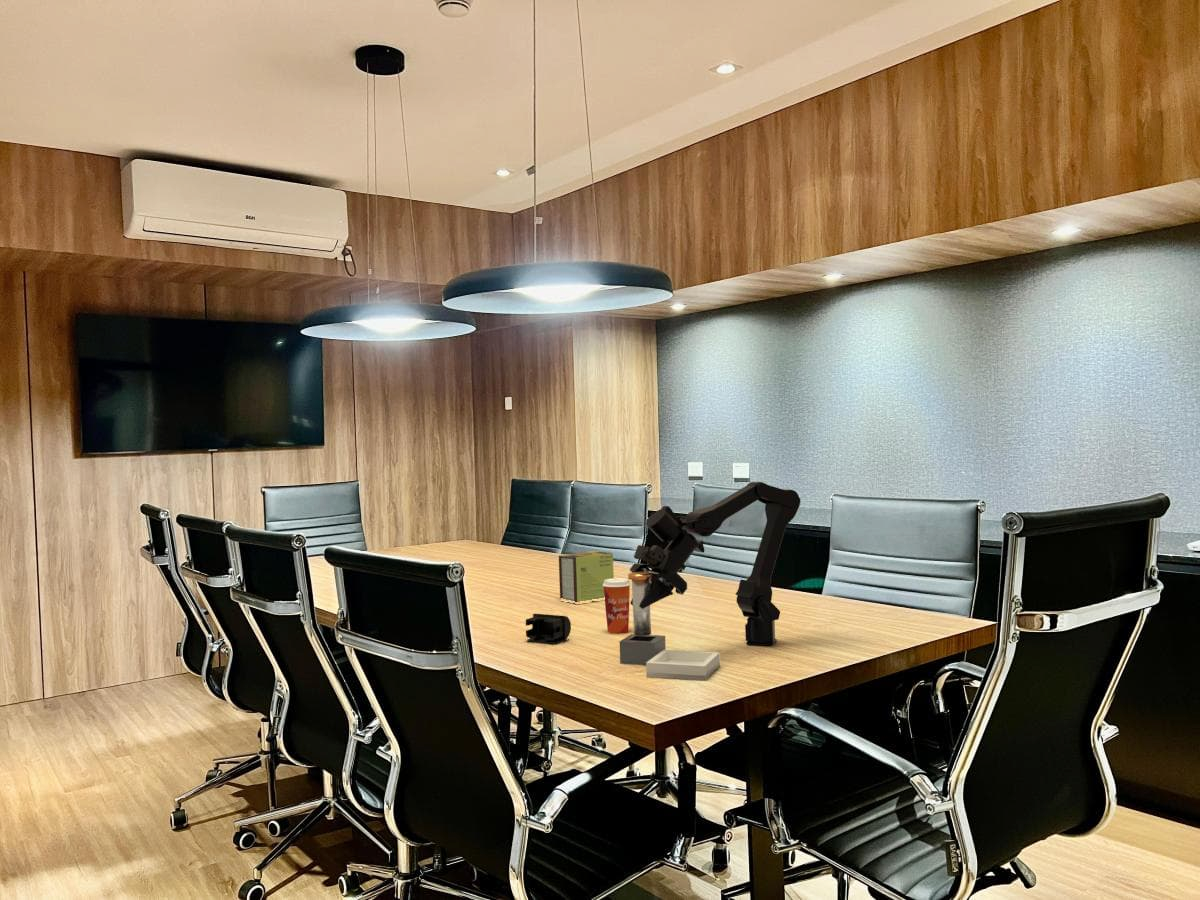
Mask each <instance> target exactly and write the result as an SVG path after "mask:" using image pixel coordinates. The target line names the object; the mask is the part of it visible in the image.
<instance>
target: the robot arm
mask: <svg viewBox="0 0 1200 900" xmlns="http://www.w3.org/2000/svg"><path fill="white" fill-rule="evenodd" d="M757 501H758V502H759V503H762V504H764V505H765V506H764V512H765V516H766V523H765V527H764V530H763V534H762V537H761V540H760V543H759V546H758V549H757V553H756V556H755V560H754V564H753V567H752V571H751V573H750V576H748V578H747V579H740V581H739V584H738V588H737V590H736V593H735V595H736V604H737V605H738V607H739V609H740V611H741V613H742V615H743V617H745V618H746V619H747V620H746V623H745V626H744V627H745V628H744V629H745V631H744V632H745V641H746V645H749V646H750V645H751V646H770V647H772V646H774V644H775V643H776V642H777V640H778V639H777V638H776V629H775V628H776V627H775V626H776V625H775V621H778V620H779V618H780V614H781V611H780V609H778V607H777V606H776V605H775V604H774V603H773V602H772V600H773V599H772V598H773V588H772V583H771V579H772V575H773V572H774V569H775V566H776V561H777V558H778V555H779V553H780V552H779V551H780V548H781V545H782V541H783V539H784V536H785V535H784V534H785V532H786V528H787V526H788V525H789V523H790V522H791V521H792V520H793V519H794V518H795V517H796V514H797V512H798V510H799V508H800V506H801V497H800V496H799V494H798V492H797V491H796V490H794V489H783V488H779V487H776V486H772V485H770V484H767V483H765V482H764V481H751V482H749V483H747V484H746V485H745V486H744V487H742V488H740V489H739V490H737V491H735V492H733V493H731V494H730V495H728V496H726V497H724V498H723V499H721V500H720V501H718V502H716V503H715V504H712V505H710V506H705V507H701V508H699V509H695V510H693V511H690V512H688V513H687V514H686V515H685V516H684V517H681V518H680V517H678V515H677V514H676V513H674V511H673V509H672V508H671V507H670V506H669V505H663V506H662V507H661V508H660V509H657V510H656V511H655V512H654V513H653V514H650V516H649V517H648V519H647V520H646V527H647V528H649V530H650V531H651V532H653V534H654V535H655V536H656V537H657V538H658V539H659V540H660V541H661V542H662V543H663V542H665V543H666V542H669V543H668V545H667V546H666V547H665V549H663V547H662V546H659V545H655V544H653V545H652V546H651V547H650V546H645V545H641V544H637V547H636V549H635V552H634V555H633V558H634V559H635V560H640V561H643V562H645V563H646V564H645V563H641V562H638V563H637V562H636V563H633V564H632V565H631V566H630V568H629V571H630V573H633V572H651V573H652V576H651V579H649V590H648V591H647V593H646V595H645V596H644V598H643V599H642V601H641V603H640V605H639V607H640V608H642V609H644V608H645V607H647V606H649V605H650V606H651V605H653V604H655V603H657V602H658V601H660V600H663V599H665V598H668V597H669V596H673V595H674V592H673V590H674V589H675V593H676V594H677V595H682V596H683V595H684V594H685V592H686V591H687V590H688V582H687V581H686V580H685V579H684V578H683V577H682V576H681V575H680V574H679V572H680V571H681V570H683V571H684V570H685V569H686V568H687V566H686V565H685V564H686V562H687V561H688V560H689V559H690V558H691V556H692V554H693V553H695V552H696V553H701V554H702V553H705V546H704V541H703V540H699V539H697V538H696V537H695V536H697V537H704V538H705V537H707V538H708V537H710V536H712V535H713V534H714V533H715V532H717V531H718V529H719V528H721V526H722V525H723V523H724V522H725V521H726V520H727V519H729V518H730V517H732V516H733V515H735V514H737V513H738V512H740V511H741V510H744V509H745V508H746V507H749V506H750V505H752V504H753V503H755V502H757ZM630 605H631V606H632V607H633V597H631V601H630Z"/></svg>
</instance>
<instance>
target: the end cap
mask: <svg viewBox="0 0 1200 900" xmlns="http://www.w3.org/2000/svg"><path fill="white" fill-rule="evenodd" d="M530 625H531V626H532V627H531V628H530V629H526V630H525V636H526V638H528V639H526V642H527V643H532V644H543V645H554V646H556V645H560V644H562V643H564V642H565V641H566V640H567V639H568V637H570V634H571V630H572V622H571V620H570V618H569V617H568V616H566V615H558V614H546V613H545V614H543V613H533V614H532V617H529V618H526V619H525V626H526V627H527V626H530Z"/></svg>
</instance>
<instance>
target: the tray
mask: <svg viewBox="0 0 1200 900" xmlns="http://www.w3.org/2000/svg"><path fill="white" fill-rule="evenodd" d="M720 655H721V654H720V652H714V651H695V650H693V651H692V650H678V649H676V650H675V649H666V650H663V651H661V652H660V653H659V654H657V655H656V656H654V657H653V658H652V659H650V660H649V661H648V662H646V665H645V668H646V669H645V670H646V671H645V672H646V675H645V676H646V677H647V678H660V679H661V678H662V679H663V678H664V679H675V680H676V679H677V680H692V681H694V680H695V681H706V680H708V679H709V678H710V677H711V676H712V674H714V673H715V672H716V670H718V669H719V668H720V667H721V659H720V658H721V657H720Z"/></svg>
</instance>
